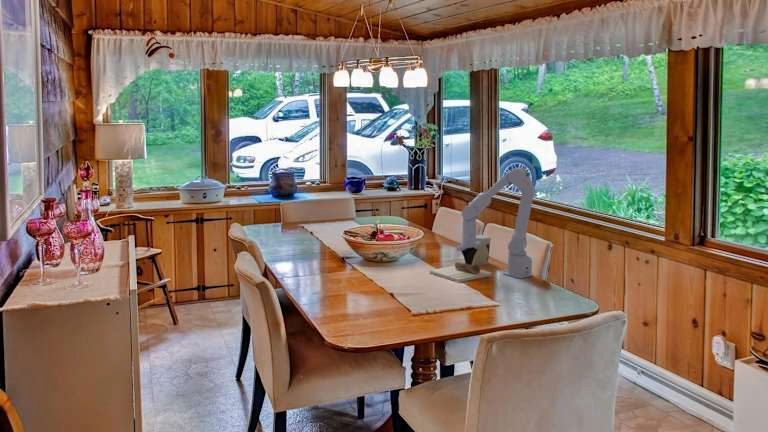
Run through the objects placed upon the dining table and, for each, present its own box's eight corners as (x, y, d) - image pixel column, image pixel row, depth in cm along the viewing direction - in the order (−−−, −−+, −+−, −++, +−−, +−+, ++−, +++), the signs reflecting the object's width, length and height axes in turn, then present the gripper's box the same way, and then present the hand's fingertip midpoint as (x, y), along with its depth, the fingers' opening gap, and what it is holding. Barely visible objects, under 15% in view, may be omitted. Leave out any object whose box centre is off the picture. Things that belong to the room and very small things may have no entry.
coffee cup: (491, 265, 297) (492, 238, 295) (469, 265, 297) (470, 238, 295) (488, 260, 306) (489, 234, 304) (467, 260, 306) (468, 234, 304)
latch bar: (479, 272, 278) (479, 266, 277) (475, 273, 276) (475, 267, 276) (459, 267, 287) (459, 260, 287) (455, 268, 286) (455, 261, 285)
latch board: (491, 275, 280) (491, 272, 280) (458, 282, 269) (458, 279, 269) (461, 267, 294) (461, 264, 294) (429, 273, 284) (429, 270, 284)
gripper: (472, 230, 294) (471, 260, 296) (451, 234, 283) (450, 266, 286) (485, 232, 289) (484, 263, 291) (464, 237, 279) (463, 269, 281)
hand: (468, 265), depth 288 cm, fingers closed
